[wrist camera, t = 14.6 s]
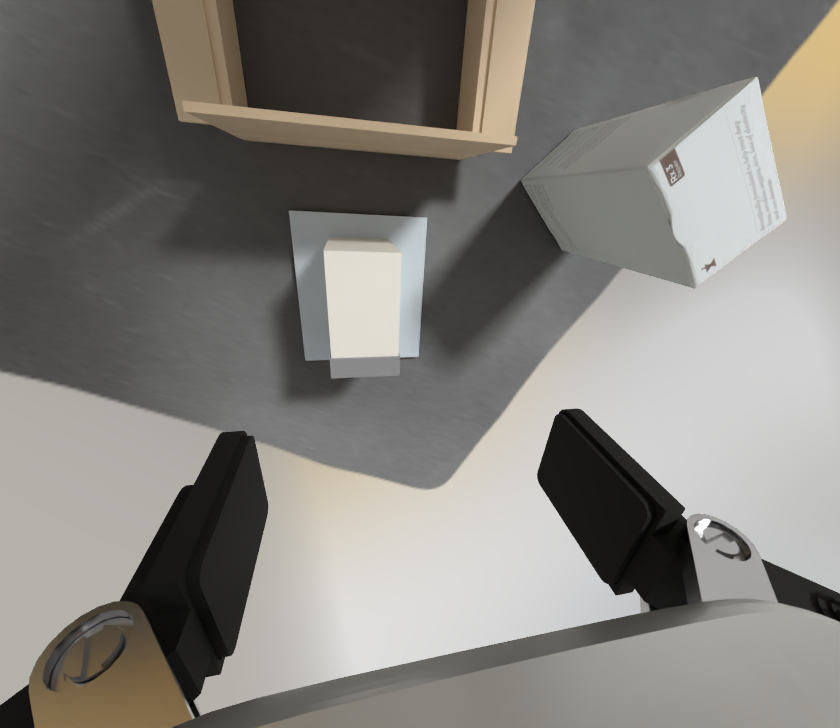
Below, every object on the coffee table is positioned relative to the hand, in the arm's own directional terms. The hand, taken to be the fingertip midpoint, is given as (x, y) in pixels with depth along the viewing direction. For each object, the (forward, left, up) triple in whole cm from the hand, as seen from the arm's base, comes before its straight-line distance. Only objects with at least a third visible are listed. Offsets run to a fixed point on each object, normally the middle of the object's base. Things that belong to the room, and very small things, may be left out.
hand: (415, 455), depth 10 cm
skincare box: (-8, +17, -23) cm, 30 cm away
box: (+1, -1, -22) cm, 22 cm away
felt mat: (+1, -1, -23) cm, 23 cm away
